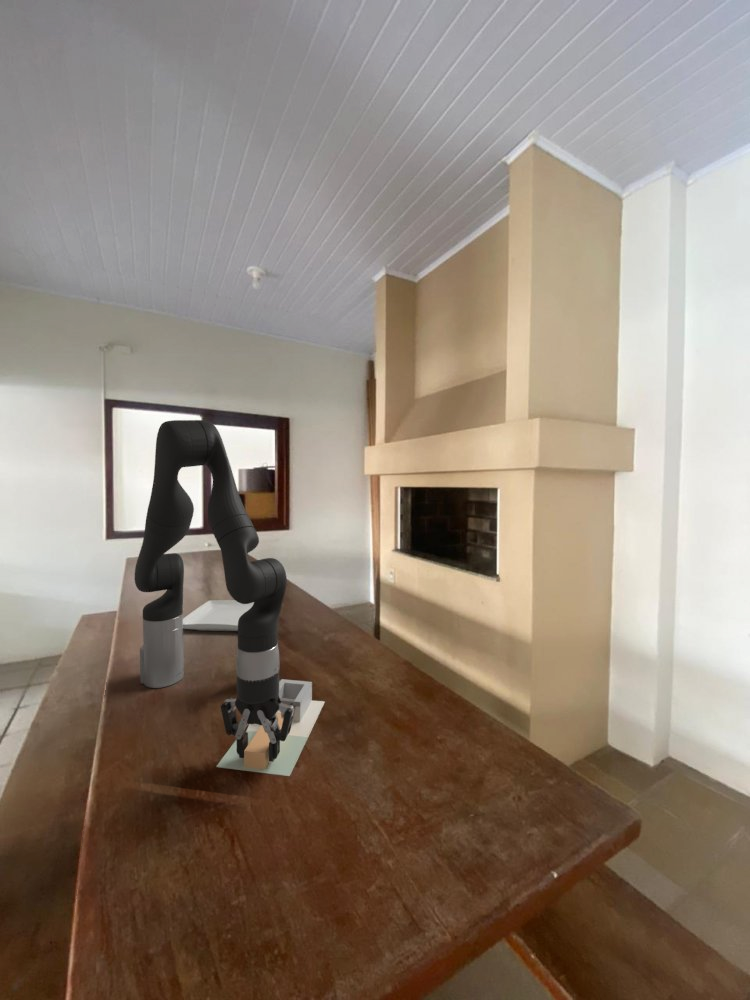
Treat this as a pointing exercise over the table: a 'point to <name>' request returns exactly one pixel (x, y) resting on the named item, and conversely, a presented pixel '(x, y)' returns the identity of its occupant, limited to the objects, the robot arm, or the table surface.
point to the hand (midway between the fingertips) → (258, 756)
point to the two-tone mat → (297, 736)
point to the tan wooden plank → (259, 748)
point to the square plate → (216, 616)
